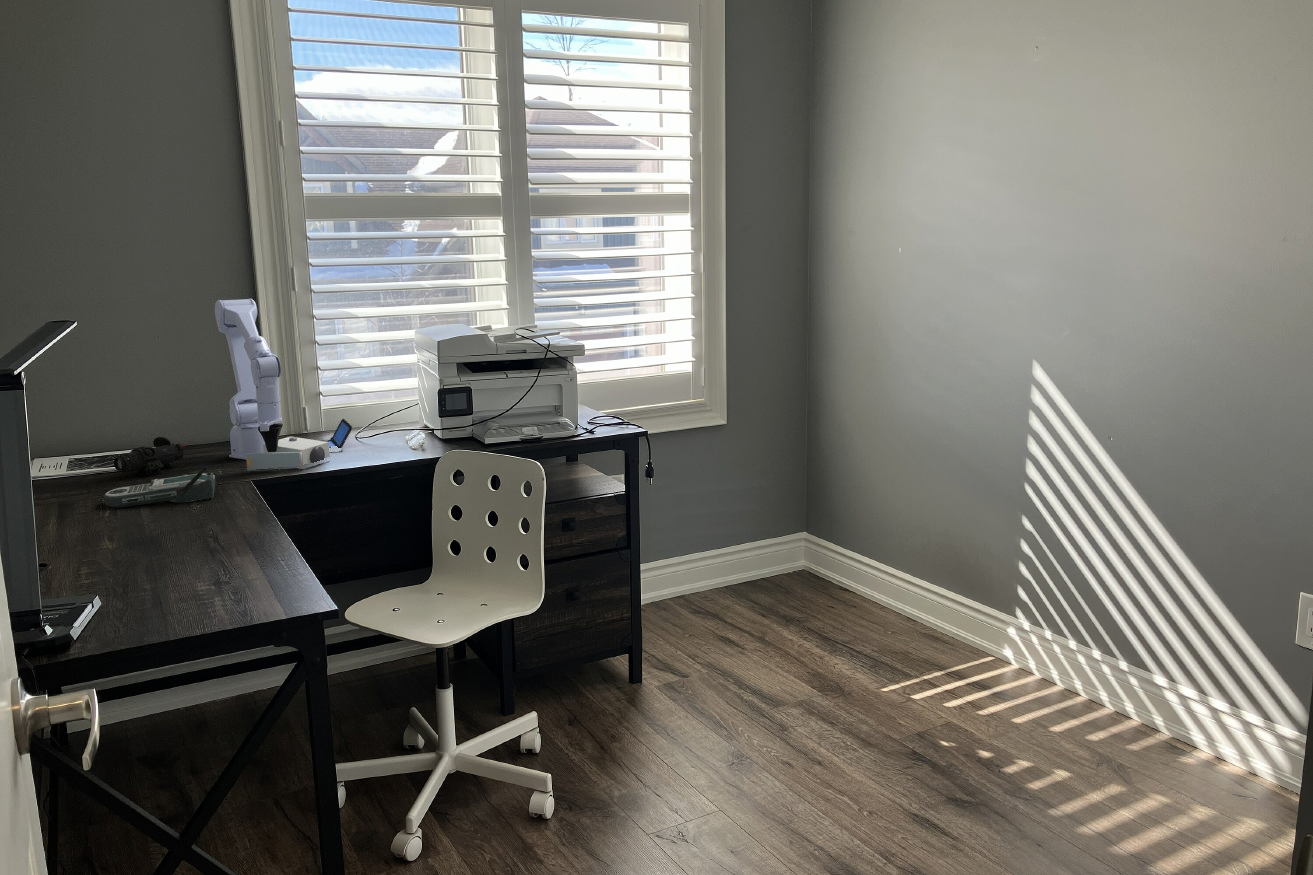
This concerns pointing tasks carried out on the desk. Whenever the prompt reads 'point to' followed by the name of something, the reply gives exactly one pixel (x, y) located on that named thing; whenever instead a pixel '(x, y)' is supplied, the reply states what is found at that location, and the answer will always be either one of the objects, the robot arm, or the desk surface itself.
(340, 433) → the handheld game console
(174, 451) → the night vision scope
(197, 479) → the communication device
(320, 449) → the camera body
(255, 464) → the side door
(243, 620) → the desk surface
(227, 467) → the desk surface
